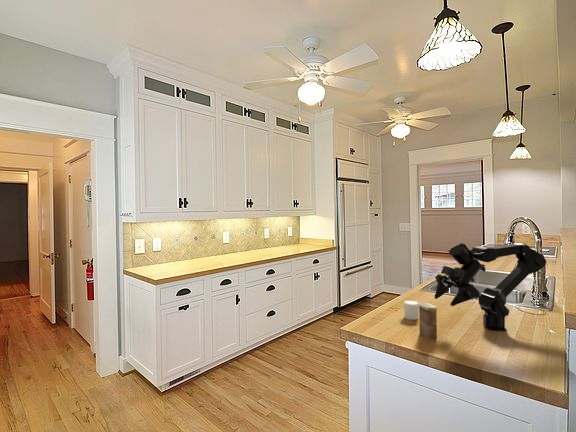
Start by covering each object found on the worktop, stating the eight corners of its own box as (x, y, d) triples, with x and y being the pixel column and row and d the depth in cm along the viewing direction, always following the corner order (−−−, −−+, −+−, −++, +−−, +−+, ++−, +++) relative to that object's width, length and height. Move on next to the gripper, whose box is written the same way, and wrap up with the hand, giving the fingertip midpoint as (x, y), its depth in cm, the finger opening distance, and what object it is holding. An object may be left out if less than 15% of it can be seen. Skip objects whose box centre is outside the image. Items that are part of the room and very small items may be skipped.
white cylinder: (421, 320, 135) (420, 305, 135) (404, 319, 136) (404, 304, 136) (417, 315, 142) (417, 300, 142) (402, 314, 143) (401, 299, 143)
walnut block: (428, 332, 123) (428, 303, 122) (436, 337, 118) (436, 307, 117) (419, 333, 122) (419, 303, 122) (427, 338, 117) (427, 308, 117)
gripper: (438, 255, 130) (415, 282, 129) (472, 263, 112) (446, 295, 110) (455, 272, 132) (432, 299, 130) (491, 282, 113) (465, 314, 112)
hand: (442, 301), depth 121 cm, fingers open, 9 cm apart
